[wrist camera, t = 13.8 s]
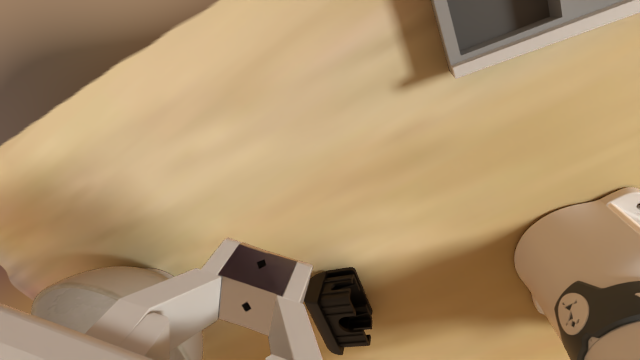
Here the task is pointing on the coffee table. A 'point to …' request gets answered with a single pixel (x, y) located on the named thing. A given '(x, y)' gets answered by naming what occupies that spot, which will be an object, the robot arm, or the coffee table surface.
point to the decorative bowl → (103, 301)
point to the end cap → (339, 309)
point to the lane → (516, 27)
